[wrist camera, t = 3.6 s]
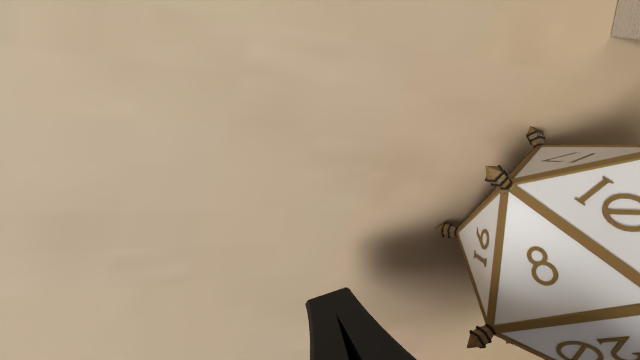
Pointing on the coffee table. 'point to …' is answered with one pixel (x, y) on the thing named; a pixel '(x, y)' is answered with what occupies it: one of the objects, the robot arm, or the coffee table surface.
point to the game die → (559, 252)
